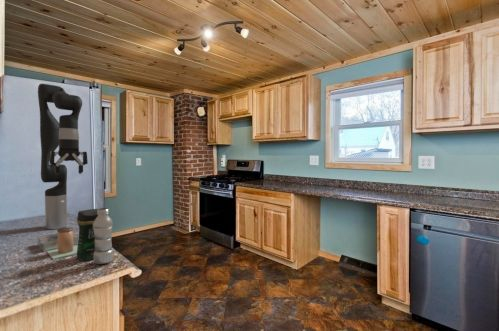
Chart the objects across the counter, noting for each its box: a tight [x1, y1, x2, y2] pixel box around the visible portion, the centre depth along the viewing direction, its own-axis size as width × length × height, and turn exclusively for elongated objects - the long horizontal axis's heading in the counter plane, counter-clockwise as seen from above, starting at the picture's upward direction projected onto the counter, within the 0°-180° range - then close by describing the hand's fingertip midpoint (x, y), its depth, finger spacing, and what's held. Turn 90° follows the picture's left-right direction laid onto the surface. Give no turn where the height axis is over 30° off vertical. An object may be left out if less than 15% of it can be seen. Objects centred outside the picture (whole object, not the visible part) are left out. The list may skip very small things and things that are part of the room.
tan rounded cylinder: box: [56, 226, 74, 254], centre depth 106 cm, size 5×5×9 cm
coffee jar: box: [76, 208, 98, 261], centre depth 102 cm, size 10×8×19 cm
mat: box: [46, 245, 78, 260], centre depth 106 cm, size 10×10×1 cm
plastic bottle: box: [92, 207, 114, 265], centre depth 96 cm, size 6×7×20 cm
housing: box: [36, 232, 79, 253], centre depth 114 cm, size 12×12×4 cm
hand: (69, 174), depth 121 cm, fingers open, 8 cm apart
